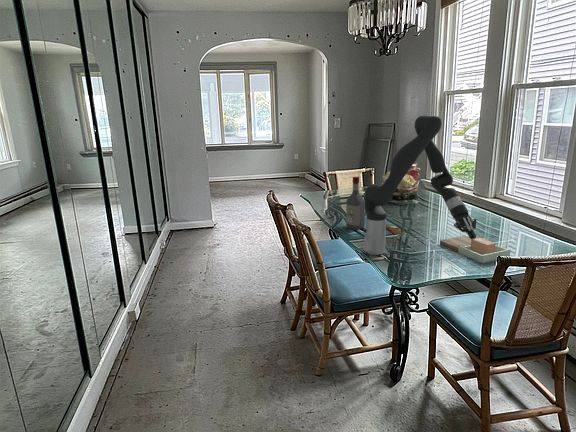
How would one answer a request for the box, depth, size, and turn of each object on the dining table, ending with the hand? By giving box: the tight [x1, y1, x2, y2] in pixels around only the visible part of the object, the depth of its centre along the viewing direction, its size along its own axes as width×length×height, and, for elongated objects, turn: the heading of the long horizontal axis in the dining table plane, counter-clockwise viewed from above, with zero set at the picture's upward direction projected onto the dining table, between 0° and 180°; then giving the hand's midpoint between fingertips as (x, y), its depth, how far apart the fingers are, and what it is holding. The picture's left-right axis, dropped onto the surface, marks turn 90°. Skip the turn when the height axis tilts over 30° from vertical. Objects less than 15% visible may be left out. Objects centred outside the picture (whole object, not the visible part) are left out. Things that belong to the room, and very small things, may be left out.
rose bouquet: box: [381, 162, 422, 206], centre depth 276 cm, size 26×29×30 cm
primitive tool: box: [386, 223, 404, 236], centre depth 218 cm, size 19×6×4 cm, turn 25°
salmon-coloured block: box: [470, 237, 497, 255], centre depth 178 cm, size 5×6×9 cm
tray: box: [457, 244, 511, 265], centre depth 177 cm, size 16×15×4 cm
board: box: [439, 235, 471, 254], centre depth 189 cm, size 16×12×2 cm
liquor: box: [345, 176, 366, 231], centre depth 220 cm, size 9×9×30 cm
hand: (473, 238), depth 181 cm, fingers closed
